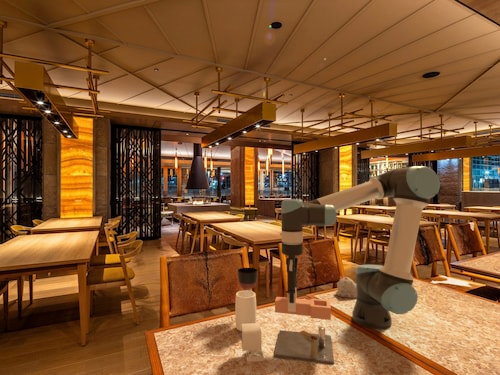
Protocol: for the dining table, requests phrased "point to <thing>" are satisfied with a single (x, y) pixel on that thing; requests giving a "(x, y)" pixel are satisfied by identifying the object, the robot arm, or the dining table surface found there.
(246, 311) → the cup
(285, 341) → the base
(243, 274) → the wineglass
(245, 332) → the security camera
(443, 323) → the dining table surface
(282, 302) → the link
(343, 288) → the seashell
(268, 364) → the dining table surface
